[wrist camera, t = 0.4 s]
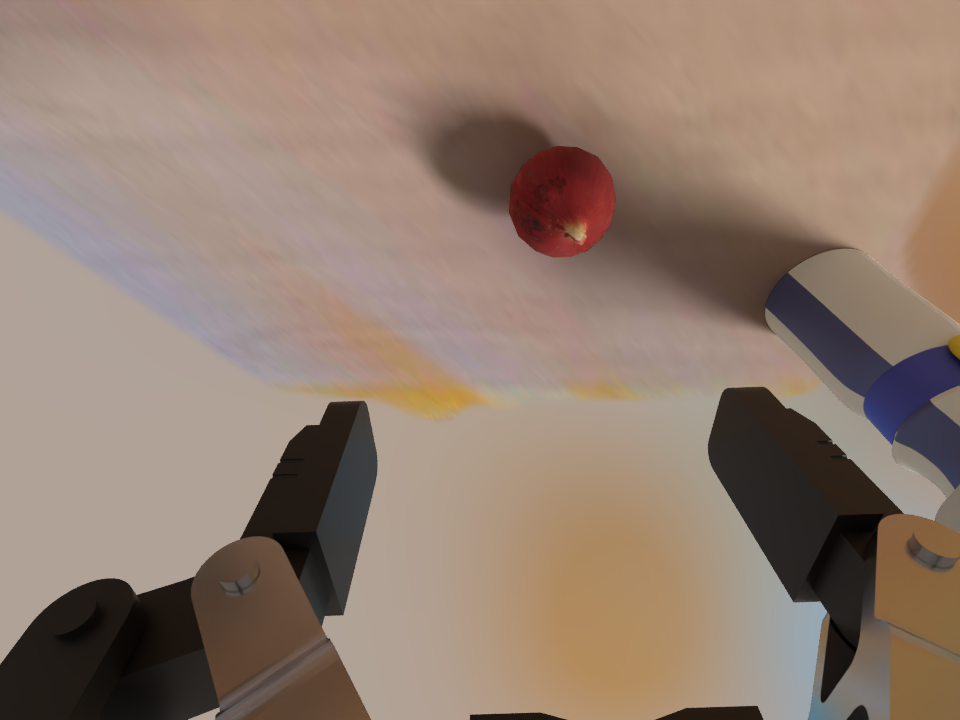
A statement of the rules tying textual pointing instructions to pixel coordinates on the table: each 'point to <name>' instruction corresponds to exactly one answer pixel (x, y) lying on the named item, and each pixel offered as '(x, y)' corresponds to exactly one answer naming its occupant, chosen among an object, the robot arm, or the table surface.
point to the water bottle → (880, 358)
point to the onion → (562, 201)
